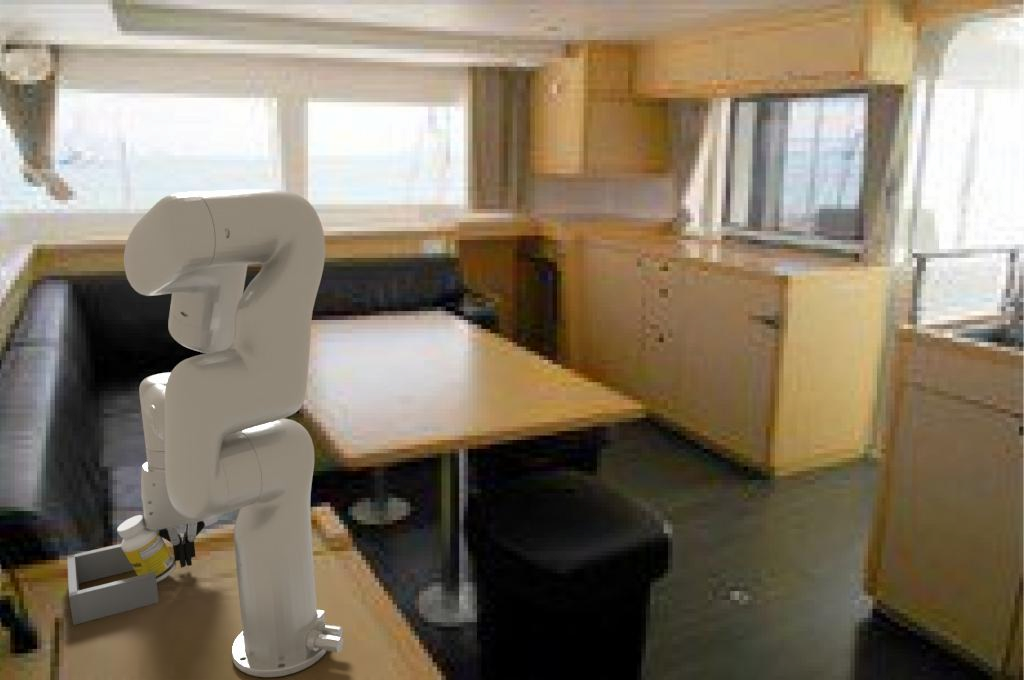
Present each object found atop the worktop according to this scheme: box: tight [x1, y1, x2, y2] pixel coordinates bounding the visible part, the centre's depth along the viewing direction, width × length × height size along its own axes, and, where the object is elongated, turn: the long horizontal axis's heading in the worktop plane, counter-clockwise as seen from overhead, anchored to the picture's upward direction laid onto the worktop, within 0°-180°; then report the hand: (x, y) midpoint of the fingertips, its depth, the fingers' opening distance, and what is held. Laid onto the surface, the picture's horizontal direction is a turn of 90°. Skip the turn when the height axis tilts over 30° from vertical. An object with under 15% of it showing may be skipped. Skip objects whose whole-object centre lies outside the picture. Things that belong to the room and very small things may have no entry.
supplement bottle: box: [116, 514, 177, 584], centre depth 117 cm, size 5×5×10 cm
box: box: [66, 543, 160, 626], centre depth 115 cm, size 11×13×4 cm
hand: (185, 562), depth 121 cm, fingers closed
